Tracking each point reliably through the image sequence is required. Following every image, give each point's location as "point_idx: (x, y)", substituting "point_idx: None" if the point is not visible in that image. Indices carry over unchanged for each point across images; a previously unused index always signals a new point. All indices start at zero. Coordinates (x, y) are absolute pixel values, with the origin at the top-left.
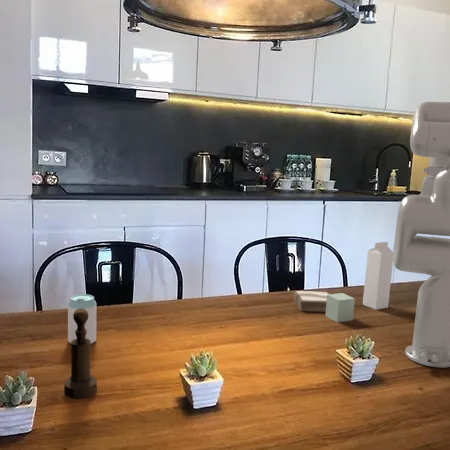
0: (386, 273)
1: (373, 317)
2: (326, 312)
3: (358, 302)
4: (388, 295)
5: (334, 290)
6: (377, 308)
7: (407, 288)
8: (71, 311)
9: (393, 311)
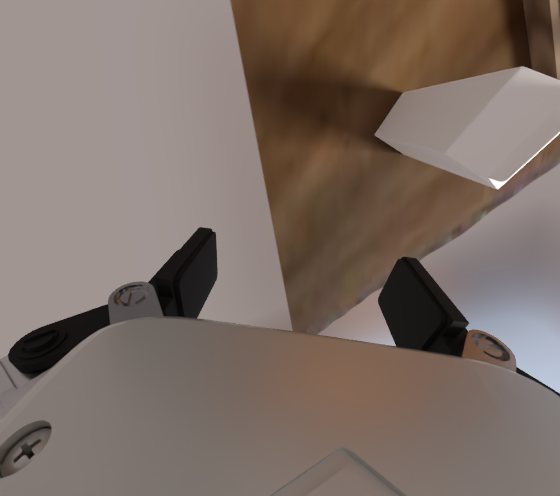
0: (426, 119)
1: (409, 9)
2: None
3: None
4: (385, 134)
5: None
6: (399, 98)
7: (344, 282)
8: None
9: (360, 112)
